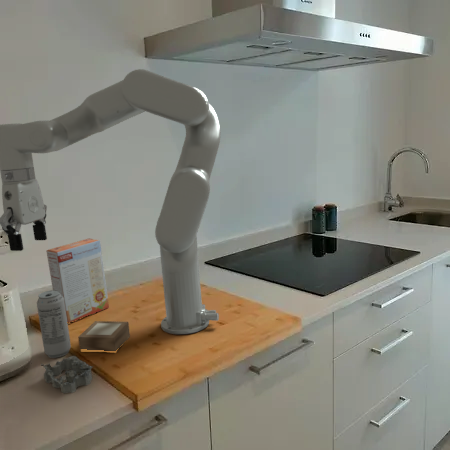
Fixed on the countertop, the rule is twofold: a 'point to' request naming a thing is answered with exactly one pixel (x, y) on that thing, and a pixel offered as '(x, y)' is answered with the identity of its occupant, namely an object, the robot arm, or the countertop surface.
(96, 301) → the cracker box
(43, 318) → the energy drink can
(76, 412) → the countertop surface
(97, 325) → the rectangular tray
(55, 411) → the countertop surface
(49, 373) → the egg carton
